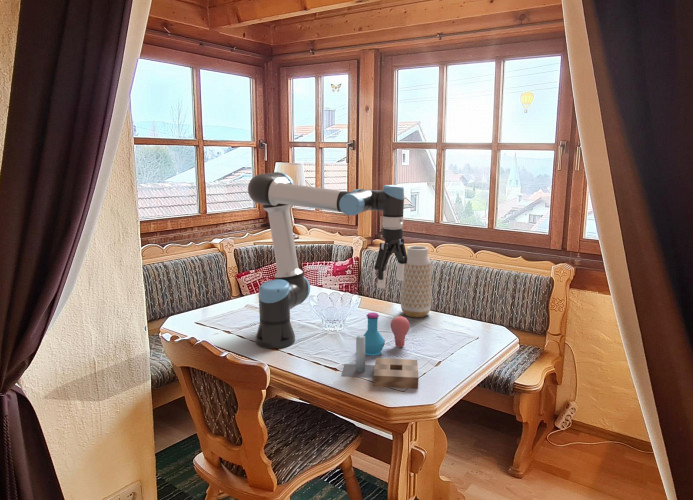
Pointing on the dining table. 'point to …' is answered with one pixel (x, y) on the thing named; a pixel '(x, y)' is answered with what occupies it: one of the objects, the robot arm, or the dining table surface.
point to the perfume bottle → (373, 336)
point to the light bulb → (400, 330)
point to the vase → (416, 283)
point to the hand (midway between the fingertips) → (391, 284)
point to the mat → (350, 371)
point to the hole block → (396, 373)
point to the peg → (360, 354)
